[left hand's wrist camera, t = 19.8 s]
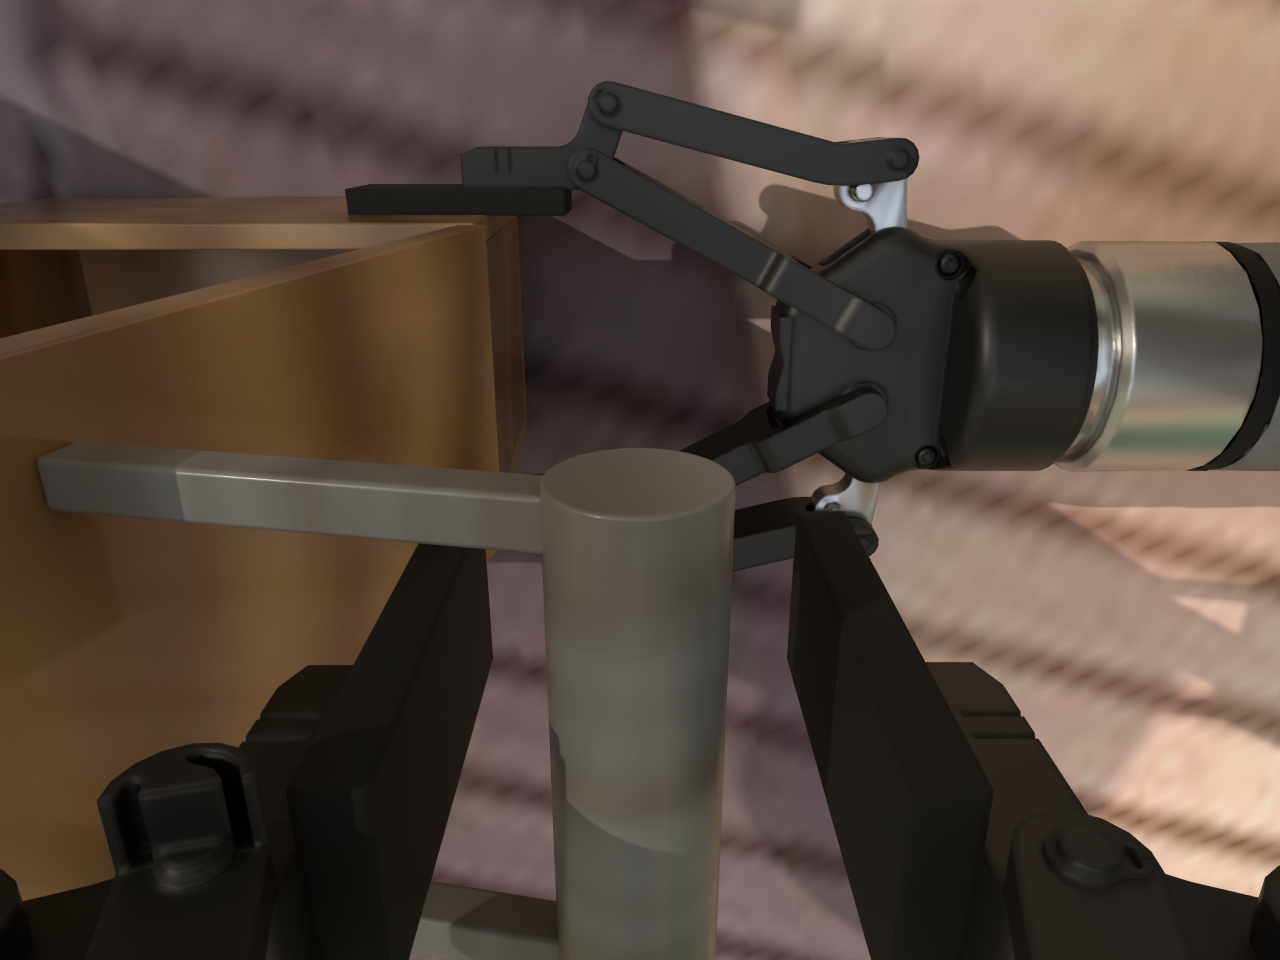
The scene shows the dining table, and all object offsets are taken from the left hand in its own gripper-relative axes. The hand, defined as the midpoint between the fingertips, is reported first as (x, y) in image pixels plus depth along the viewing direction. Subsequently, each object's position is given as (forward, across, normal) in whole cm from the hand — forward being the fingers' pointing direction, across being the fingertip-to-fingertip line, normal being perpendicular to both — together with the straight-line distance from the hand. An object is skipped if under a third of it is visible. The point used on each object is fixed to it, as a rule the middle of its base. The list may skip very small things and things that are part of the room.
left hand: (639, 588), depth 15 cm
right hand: (+16, +9, 0) cm, 18 cm away
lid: (+3, +7, 0) cm, 7 cm away
